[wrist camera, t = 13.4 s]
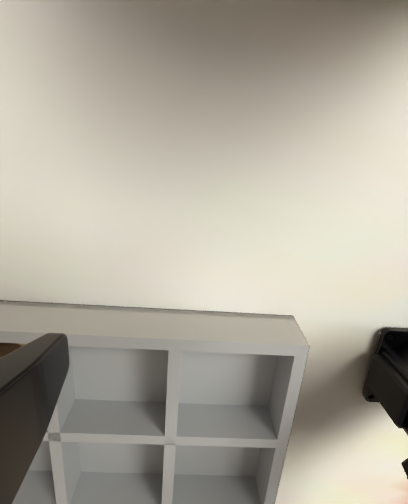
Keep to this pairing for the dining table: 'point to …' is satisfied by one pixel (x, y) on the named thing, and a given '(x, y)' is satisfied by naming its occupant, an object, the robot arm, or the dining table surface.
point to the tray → (163, 404)
